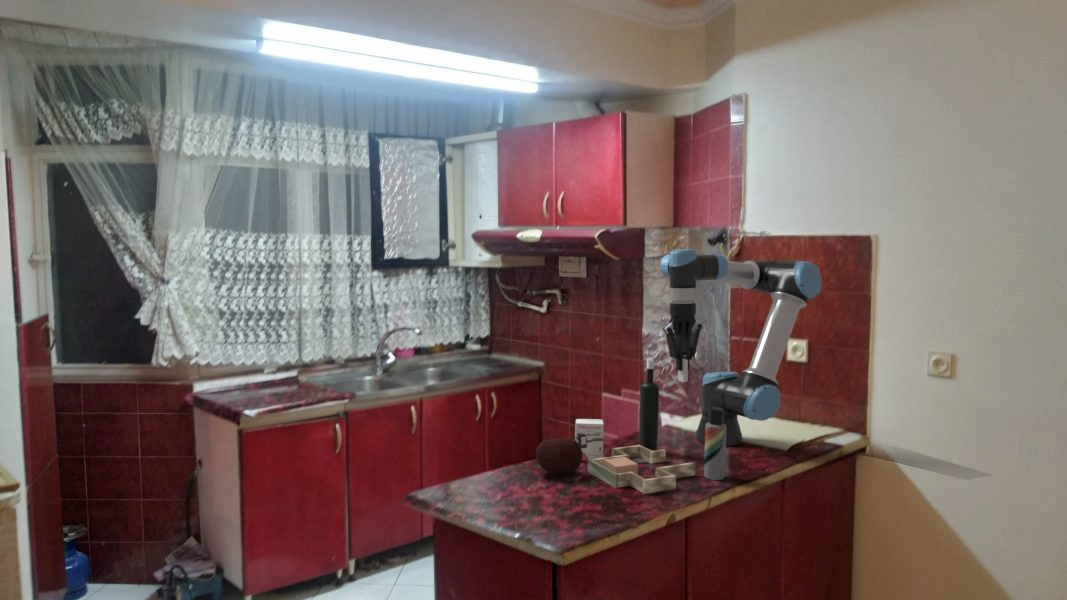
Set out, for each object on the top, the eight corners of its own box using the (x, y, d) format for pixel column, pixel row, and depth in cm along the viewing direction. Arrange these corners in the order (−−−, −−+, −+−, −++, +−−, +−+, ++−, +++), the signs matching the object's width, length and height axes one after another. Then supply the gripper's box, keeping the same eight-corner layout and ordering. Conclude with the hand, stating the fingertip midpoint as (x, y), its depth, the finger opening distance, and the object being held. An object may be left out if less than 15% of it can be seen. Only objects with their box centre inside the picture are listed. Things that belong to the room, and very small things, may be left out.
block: (624, 472, 207) (625, 457, 206) (637, 479, 200) (638, 464, 200) (603, 475, 204) (603, 459, 204) (615, 482, 197) (616, 466, 197)
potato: (536, 467, 209) (536, 432, 209) (581, 468, 209) (582, 433, 208) (535, 479, 198) (535, 443, 198) (582, 481, 198) (583, 444, 197)
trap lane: (649, 454, 224) (650, 443, 224) (711, 482, 198) (711, 470, 198) (575, 464, 212) (575, 453, 212) (630, 496, 186) (630, 483, 186)
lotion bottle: (710, 472, 207) (713, 404, 205) (728, 477, 203) (730, 407, 201) (699, 476, 203) (702, 407, 201) (717, 481, 199) (720, 410, 197)
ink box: (574, 461, 216) (575, 422, 215) (574, 456, 221) (575, 418, 220) (603, 462, 216) (603, 423, 215) (602, 457, 221) (603, 419, 220)
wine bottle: (651, 448, 230) (654, 356, 228) (660, 453, 225) (663, 358, 222) (635, 450, 228) (637, 356, 226) (644, 455, 223) (646, 359, 221)
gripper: (692, 299, 217) (692, 376, 219) (656, 302, 211) (657, 381, 213) (708, 301, 210) (708, 380, 213) (672, 304, 204) (672, 385, 207)
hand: (682, 380), depth 213 cm, fingers closed
